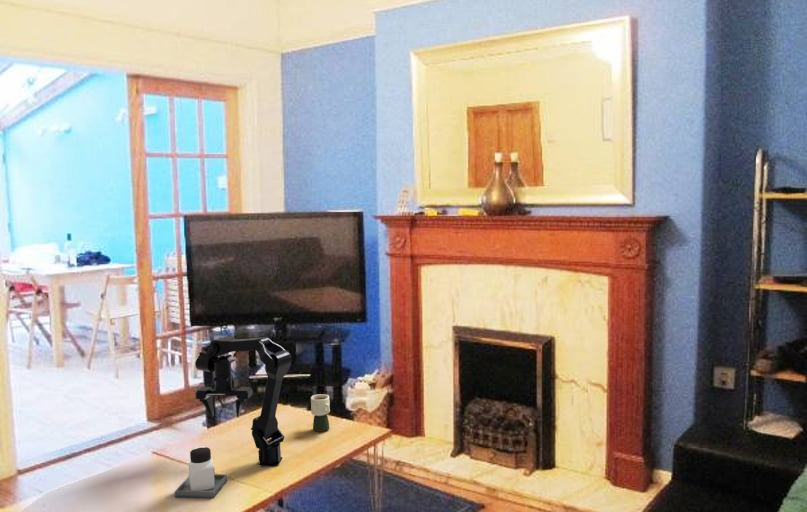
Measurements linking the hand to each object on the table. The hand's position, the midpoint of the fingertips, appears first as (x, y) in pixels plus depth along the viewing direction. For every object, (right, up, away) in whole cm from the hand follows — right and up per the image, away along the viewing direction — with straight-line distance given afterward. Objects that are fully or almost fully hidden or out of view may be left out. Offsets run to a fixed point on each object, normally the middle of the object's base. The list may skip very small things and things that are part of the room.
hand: (225, 416), depth 231 cm
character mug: (+31, -10, +21) cm, 39 cm away
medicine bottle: (0, -15, -27) cm, 31 cm away
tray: (0, -16, -27) cm, 31 cm away
